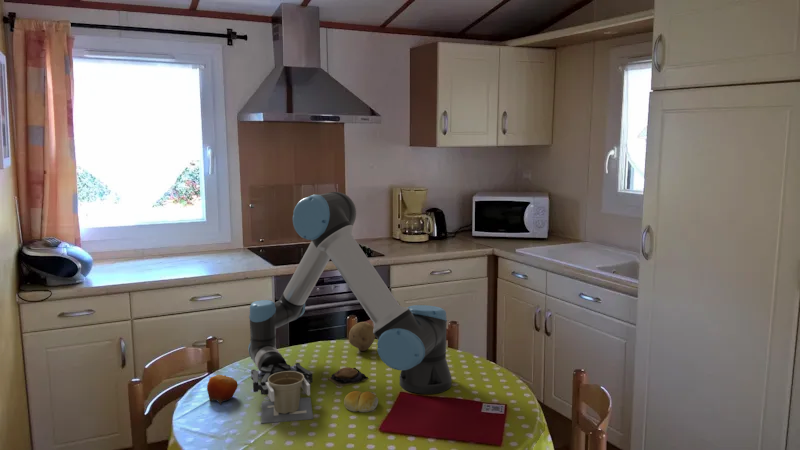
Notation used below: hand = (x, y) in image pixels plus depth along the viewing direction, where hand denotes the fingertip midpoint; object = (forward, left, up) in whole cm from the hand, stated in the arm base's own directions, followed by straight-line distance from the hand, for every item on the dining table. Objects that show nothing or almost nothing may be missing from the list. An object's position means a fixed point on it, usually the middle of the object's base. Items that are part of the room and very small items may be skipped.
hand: (290, 393), depth 157 cm
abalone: (0, -28, -7) cm, 29 cm away
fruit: (+24, -1, -7) cm, 25 cm away
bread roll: (-13, -14, -7) cm, 20 cm away
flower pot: (+4, -3, -6) cm, 8 cm away
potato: (+8, -51, -7) cm, 52 cm away
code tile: (+4, -3, -7) cm, 8 cm away
